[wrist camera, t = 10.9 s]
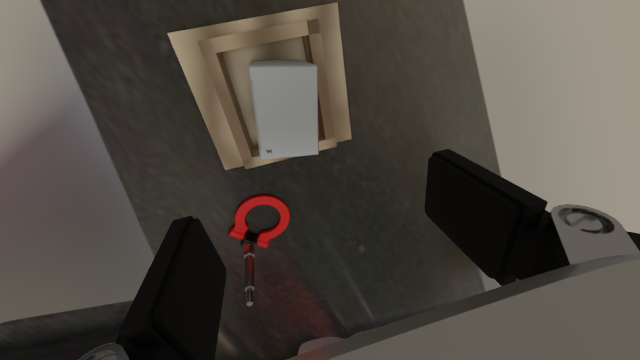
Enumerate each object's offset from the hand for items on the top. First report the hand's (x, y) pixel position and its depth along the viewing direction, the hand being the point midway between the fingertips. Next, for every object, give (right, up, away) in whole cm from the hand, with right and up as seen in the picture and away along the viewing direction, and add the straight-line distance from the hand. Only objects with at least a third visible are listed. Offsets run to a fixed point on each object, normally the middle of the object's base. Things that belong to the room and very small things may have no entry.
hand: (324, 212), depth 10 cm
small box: (-5, +12, +20) cm, 24 cm away
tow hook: (-10, -5, +29) cm, 31 cm away
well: (-6, +12, +20) cm, 24 cm away
